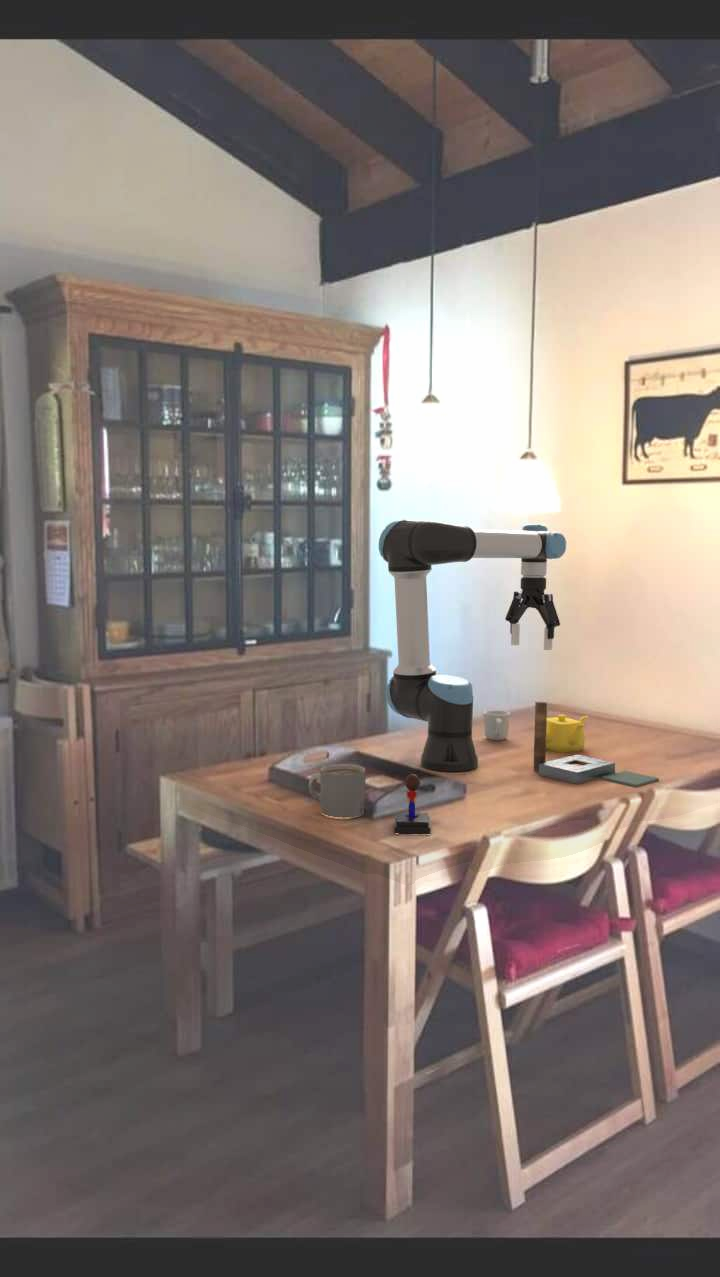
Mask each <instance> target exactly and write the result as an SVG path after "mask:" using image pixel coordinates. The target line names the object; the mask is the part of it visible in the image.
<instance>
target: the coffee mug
mask: <svg viewBox="0 0 720 1277" xmlns="http://www.w3.org/2000/svg"><path fill="white" fill-rule="evenodd" d="M317 781H319V784H320V788H319V789H320V790H319V791H320V792H319V791H318V790H317V789H316V788H317V787H316V782H317ZM308 791H309V794H310V795H311V797H312V798H313V799H316V800H317V801H318V802H319V803H320V804H319V807H320V809H319V810H320V811H321V812H322V813H323V814H325V815H328V816H333V817H343V818H345V817H354V816H356V815H358V814H359V811H360V806H361V805H360V804H361V801H362V799H364V798H365V799H366V768H365V767H364V766H361V765H357V764H352V763H351V764H350V763H335V764H329V765H324V766H322V767H321V768H320V772H317V773H314V774H312V775H311V776H310V778H309V781H308ZM320 811H319V812H320Z"/></svg>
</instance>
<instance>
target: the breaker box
mask: <svg viewBox="0 0 720 1277" xmlns="http://www.w3.org/2000/svg"><path fill="white" fill-rule="evenodd" d="M575 763H576V764H580V765H583V766H575V765H571V764H575ZM615 773H616V762H614V761H609V760H604V759H601V758H600V759H599V758H595V757H590V756H585V755H581V754H574V755H570V756H565V757H561V758H557V759H552V760H549V761H548V760H547V761H545V762H544V763H540V764H539V772H538V775H539V776H542V777H544V778H549V779H553V780H559V781H562V782H566V783H570V784H575V785H579V784H583V783H587V782H590V781H594V780H598V779H602V777H603V776H607V775H611V774H615Z"/></svg>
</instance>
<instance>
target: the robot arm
mask: <svg viewBox="0 0 720 1277" xmlns="http://www.w3.org/2000/svg"><path fill="white" fill-rule="evenodd" d="M548 529H549V528H548V526H547V525H545V524H524V525H522V530H506V529H504V530H503V529H502V530H501V529H477V528H476V529H474V528H472V527H471V526H470V525H467V524H466V525H465V524H455V523H450V522H449V523H448V522H445V521H443V522H442V521H438V520H418V519H417V520H414V519H413V520H412V519H402V520H394V521H392V522H390V523H388V524H387V525H386V526H385V528H384V529H383V530H382V532H381V534H380V536H379V539H378V552H379V555H380V556H381V558H382V560H383V561H385V562H386V563H387V566H388V567H387V568H388V573H389V574H390V575H391V576H392V577H393V578H394V597H395V614H396V617H395V618H396V637H397V658H398V659H397V660H398V664H397V666H396V667H395V668H394V669H393V676H392V677H391V678H390V679H389V680H388V681H389V683H387V685H386V689H385V697H386V701H387V704H388V705H389V708H390V709H391V710H392V711H393V712H394V713H395V714H397V715H400V716H401V717H405V718H408V719H415V720H419V721H423V722H427V738H426V741H425V744H424V748H423V751H422V753H421V755H420V766H422V767H423V768H425V769H428V770H431V771H432V770H433V771H437V772H439V771H440V772H455V773H456V772H466V771H471V770H472V771H473V770H475V769H476V768H478V766H479V757H478V755H477V753H476V748H475V744H474V740H473V711H474V710H473V709H474V694H473V692H474V691H473V690H474V689H473V685H472V683H471V682H470V681H469V680H468V679H466V678H463V677H461V676H457V675H449V674H437V668H436V667H435V666H434V665H432V664H431V657H430V656H431V655H430V653H431V652H430V636H429V635H430V633H429V613H428V612H429V610H428V587H427V586H428V585H427V576H428V574H429V573H430V572H431V571H432V566H436V565H443V564H452V563H466V562H469V561H470V560H472V559H521V564H520V565H521V566H520V575H521V578H520V589H521V590H522V591H521V590H519V591H514V592H513V598H512V601H511V603H510V606H509V608H508V610H507V613H506V616H505V622H506V621H507V622H509V623H510V626H509V629H510V630H509V632H510V636H511V637H510V646H519V645H520V631H521V630H520V629H521V627H520V626H521V623H520V622H519V621H520V620H521V618H522V617H523V615H524V614H525V613H526V611H527V609H529V608H532V609H535V610H536V611H537V612H538V613H539V615H540V617H541V619H542V621H543V623H544V624H545V627H544V630H543V632H544V633H543V634H544V635H543V651H552V650H553V639H554V637H555V628H556V627H560V626H561V622H560V619H559V615H558V613H557V610H556V606H555V603H554V595H553V594H552V593H545V590H546V588H547V578H546V576H547V567H548V566H547V565H548V559H549V560H552V559H555V560H557V559H560V558H562V556H564V554H565V553H566V549H567V538H565V536H564V534H562V533H561V532H559V531H553V530H551V531H549V530H548Z"/></svg>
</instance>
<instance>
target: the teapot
mask: <svg viewBox="0 0 720 1277" xmlns="http://www.w3.org/2000/svg"><path fill="white" fill-rule="evenodd" d="M588 717H589V716H588V715H584V716H581V717H580V718H579V720H576V719H573V718H570V717H567V715H566V714H558V715H557V716H555V717H554V716H553V717H547V724H546V750H548V751H551V752H555V753H559V754H564V753H565V752H566V753H574V752H581V750H582V751H584V748H585V731H584V726H585V724H586V723H585V721H586V719H587V718H588ZM584 723H585V724H584ZM573 751H574V752H573Z"/></svg>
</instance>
